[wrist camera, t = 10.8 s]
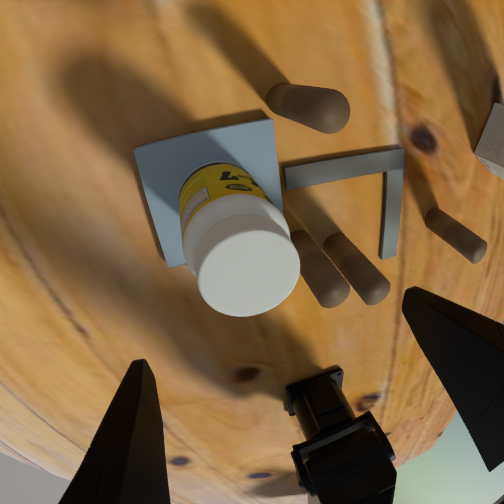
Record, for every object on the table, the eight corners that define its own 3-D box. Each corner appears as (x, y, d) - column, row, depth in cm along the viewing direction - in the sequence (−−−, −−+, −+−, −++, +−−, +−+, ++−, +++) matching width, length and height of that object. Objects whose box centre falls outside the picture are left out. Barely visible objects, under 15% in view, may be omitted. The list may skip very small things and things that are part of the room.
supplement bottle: (271, 186, 20) (334, 258, 13) (227, 245, 21) (261, 338, 14) (207, 143, 17) (238, 194, 10) (162, 209, 19) (163, 299, 12)
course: (436, 239, 27) (479, 274, 22) (288, 285, 25) (318, 340, 20) (448, 81, 19) (508, 95, 14) (265, 85, 17) (305, 90, 12)
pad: (283, 234, 22) (286, 238, 22) (168, 263, 21) (168, 268, 21) (269, 117, 18) (272, 119, 17) (134, 147, 17) (133, 150, 16)
